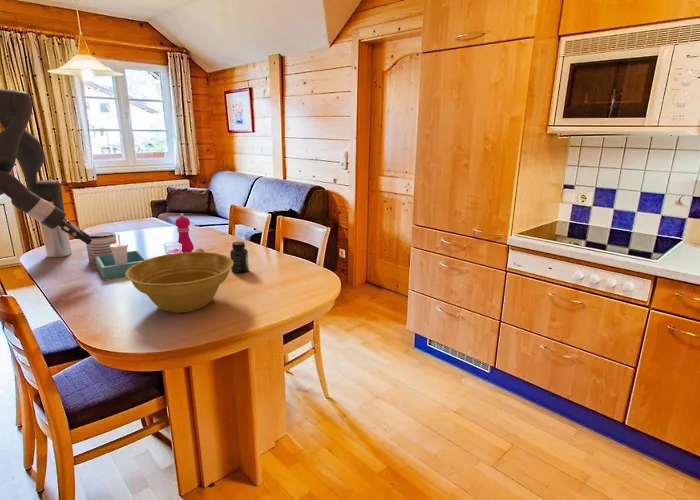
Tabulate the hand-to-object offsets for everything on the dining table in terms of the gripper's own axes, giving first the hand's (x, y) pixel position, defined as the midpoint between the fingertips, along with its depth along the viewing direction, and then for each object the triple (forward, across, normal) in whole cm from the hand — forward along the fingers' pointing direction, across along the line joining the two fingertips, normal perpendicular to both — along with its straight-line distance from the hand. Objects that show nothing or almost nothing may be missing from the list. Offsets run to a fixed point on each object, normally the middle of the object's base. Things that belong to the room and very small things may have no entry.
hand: (88, 239), depth 158 cm
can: (+14, +20, +6) cm, 25 cm away
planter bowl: (+24, -49, -4) cm, 55 cm away
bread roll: (+35, -18, -14) cm, 42 cm away
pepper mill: (+36, +4, -15) cm, 39 cm away
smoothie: (+16, 0, +2) cm, 16 cm away
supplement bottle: (+44, -28, -24) cm, 57 cm away
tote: (+17, 0, +3) cm, 17 cm away
